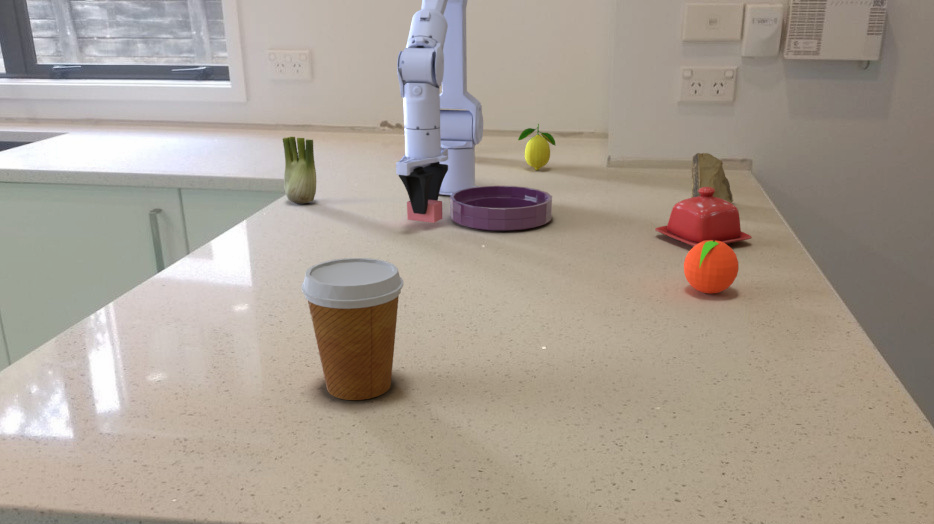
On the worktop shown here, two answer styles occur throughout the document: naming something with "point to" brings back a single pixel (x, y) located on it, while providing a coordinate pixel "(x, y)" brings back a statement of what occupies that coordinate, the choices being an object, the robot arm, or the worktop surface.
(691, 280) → the clementine
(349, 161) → the worktop surface
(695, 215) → the butter dish
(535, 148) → the lemon
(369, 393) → the disposable coffee cup
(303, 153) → the fennel bulb
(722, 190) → the rock
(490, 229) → the bowl
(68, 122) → the worktop surface
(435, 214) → the eraser
